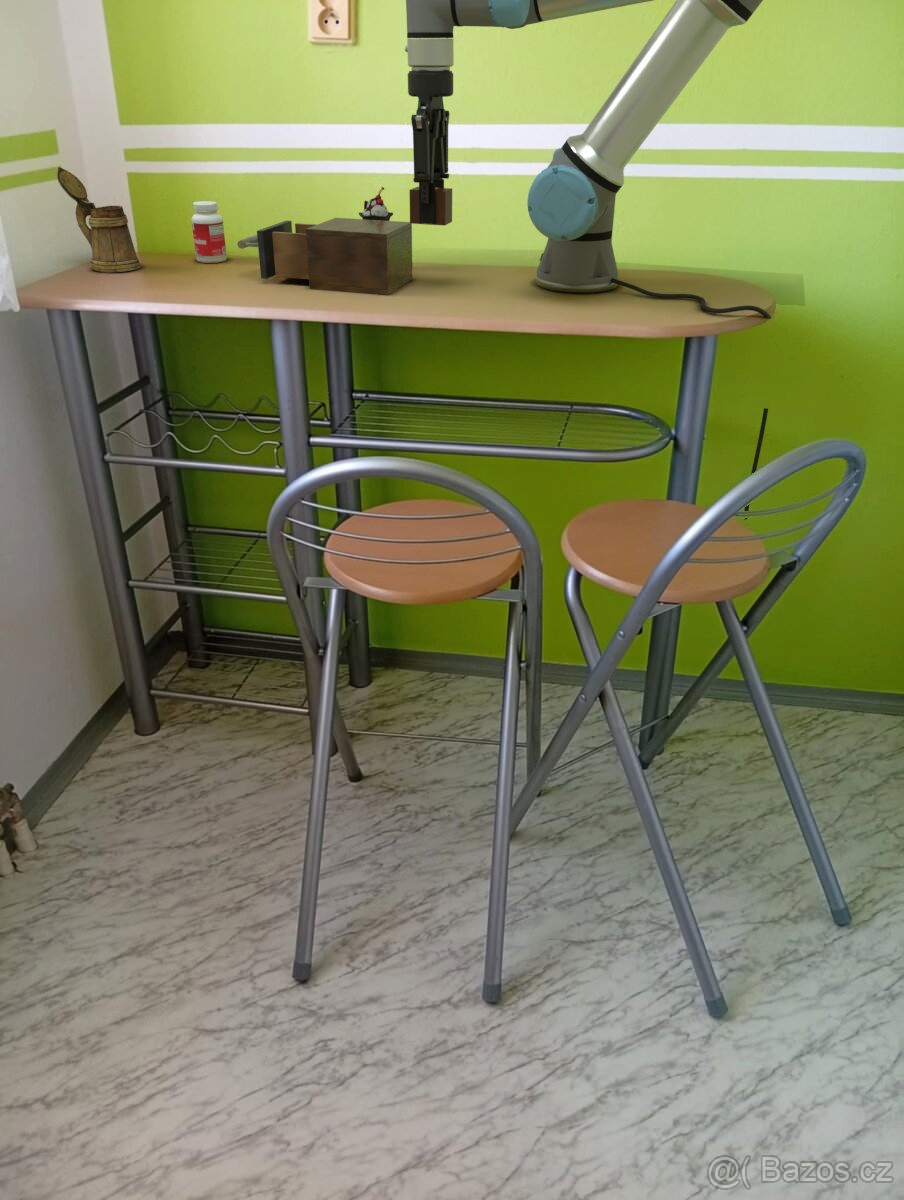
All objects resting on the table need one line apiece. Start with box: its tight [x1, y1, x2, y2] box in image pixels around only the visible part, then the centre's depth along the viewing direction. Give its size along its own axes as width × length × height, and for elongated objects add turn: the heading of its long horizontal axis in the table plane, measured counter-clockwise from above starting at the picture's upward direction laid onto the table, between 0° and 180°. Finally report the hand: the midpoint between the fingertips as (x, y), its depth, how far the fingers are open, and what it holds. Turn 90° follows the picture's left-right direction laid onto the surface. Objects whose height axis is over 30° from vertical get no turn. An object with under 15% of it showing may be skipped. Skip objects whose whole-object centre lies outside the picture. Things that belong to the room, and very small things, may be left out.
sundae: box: [358, 186, 394, 221], centre depth 185 cm, size 7×7×15 cm
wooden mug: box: [56, 166, 142, 274], centre depth 182 cm, size 9×14×18 cm, turn 76°
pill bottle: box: [191, 200, 228, 264], centre depth 191 cm, size 6×6×11 cm
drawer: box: [236, 220, 317, 280], centre depth 177 cm, size 20×12×8 cm, turn 73°
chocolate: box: [409, 186, 453, 226], centre depth 166 cm, size 6×4×6 cm, turn 73°
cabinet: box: [306, 217, 413, 296], centre depth 174 cm, size 15×13×10 cm
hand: (432, 220), depth 167 cm, fingers closed on chocolate, 4 cm apart
